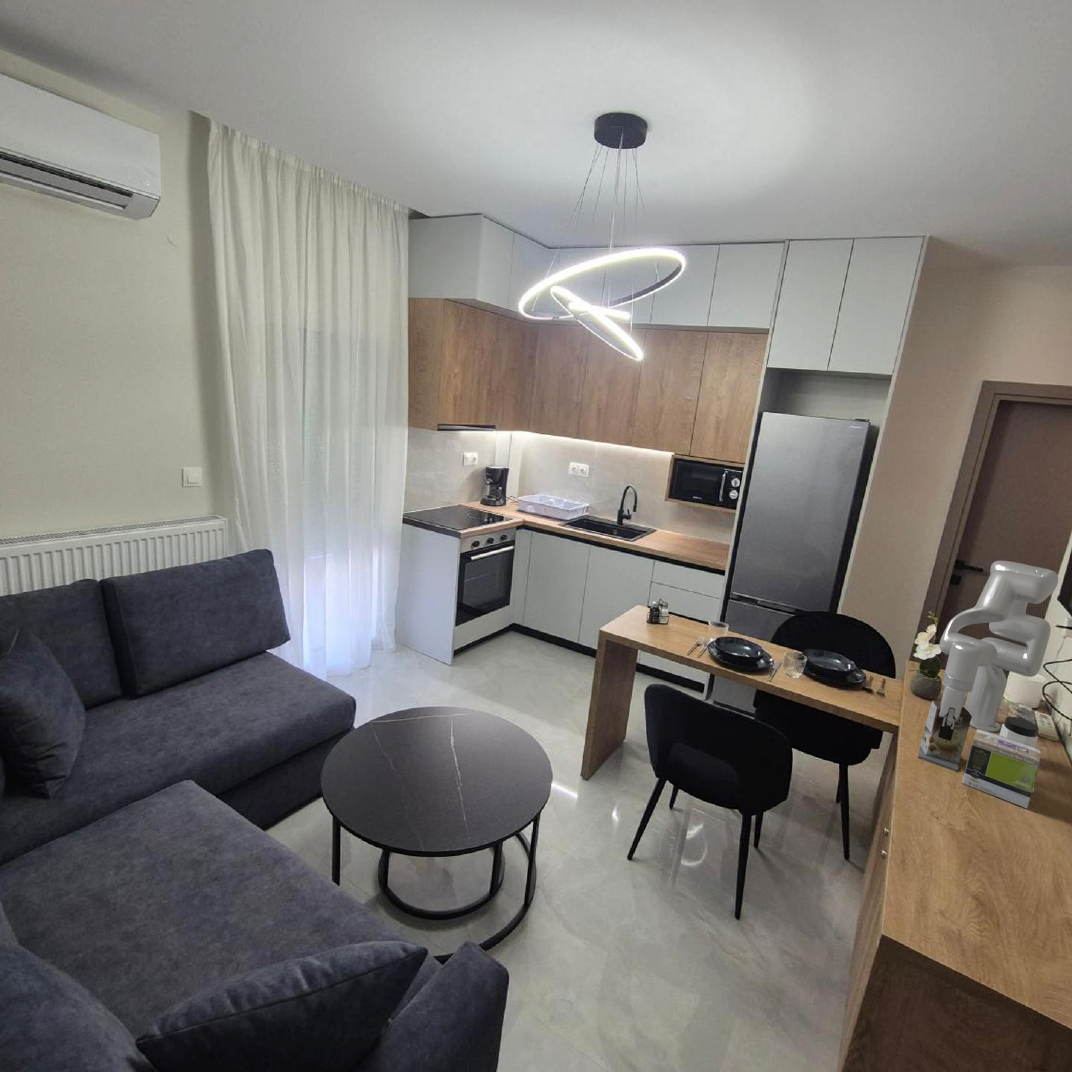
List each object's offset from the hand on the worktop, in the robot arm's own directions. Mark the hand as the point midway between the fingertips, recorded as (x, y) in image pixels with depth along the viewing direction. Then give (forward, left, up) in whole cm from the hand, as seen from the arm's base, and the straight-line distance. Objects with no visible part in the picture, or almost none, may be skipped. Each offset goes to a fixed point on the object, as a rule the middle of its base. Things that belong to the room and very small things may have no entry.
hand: (945, 732), depth 178 cm
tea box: (+9, +14, -9) cm, 18 cm away
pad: (0, 0, -8) cm, 8 cm away
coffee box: (0, 0, -8) cm, 8 cm away
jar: (-19, +19, -9) cm, 28 cm away
